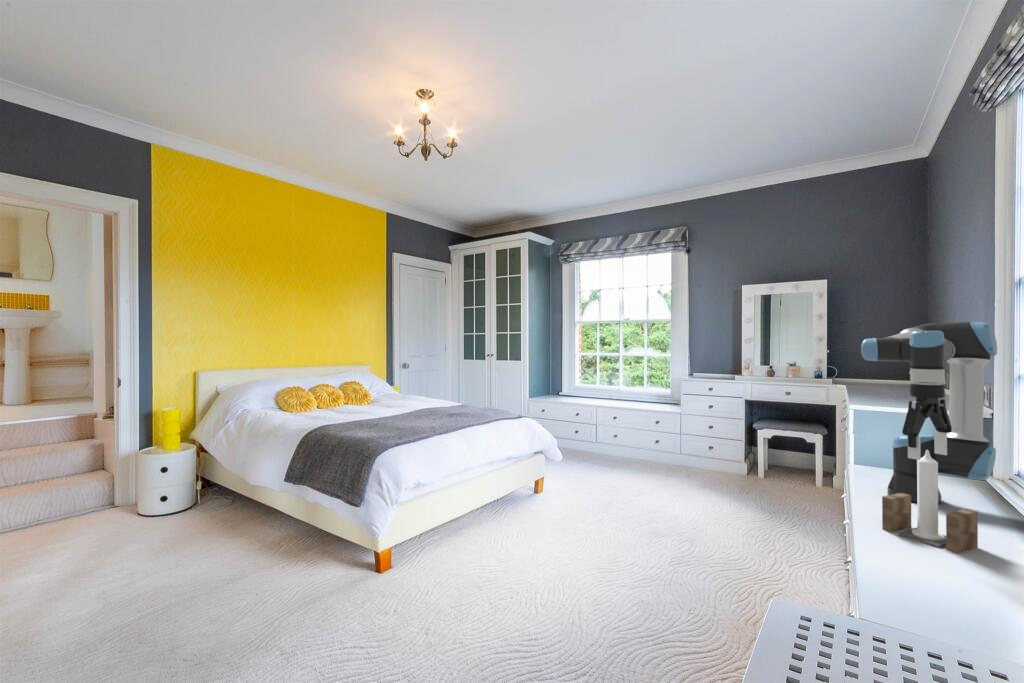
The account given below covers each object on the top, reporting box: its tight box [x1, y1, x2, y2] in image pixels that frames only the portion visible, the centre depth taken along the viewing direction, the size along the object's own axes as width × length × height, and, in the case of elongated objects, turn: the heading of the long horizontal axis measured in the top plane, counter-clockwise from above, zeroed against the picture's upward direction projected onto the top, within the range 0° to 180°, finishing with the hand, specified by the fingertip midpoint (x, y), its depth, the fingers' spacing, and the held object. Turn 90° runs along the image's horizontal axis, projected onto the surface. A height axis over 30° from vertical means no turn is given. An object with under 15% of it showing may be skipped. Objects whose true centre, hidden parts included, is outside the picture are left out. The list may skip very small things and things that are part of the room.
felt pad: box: [896, 527, 946, 549], centre depth 134 cm, size 11×10×1 cm
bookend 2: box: [945, 508, 979, 554], centre depth 127 cm, size 10×2×10 cm, turn 113°
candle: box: [912, 450, 944, 541], centre depth 135 cm, size 7×7×25 cm
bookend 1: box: [881, 493, 912, 533], centre depth 142 cm, size 10×2×10 cm, turn 113°
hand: (927, 456), depth 135 cm, fingers open, 13 cm apart
